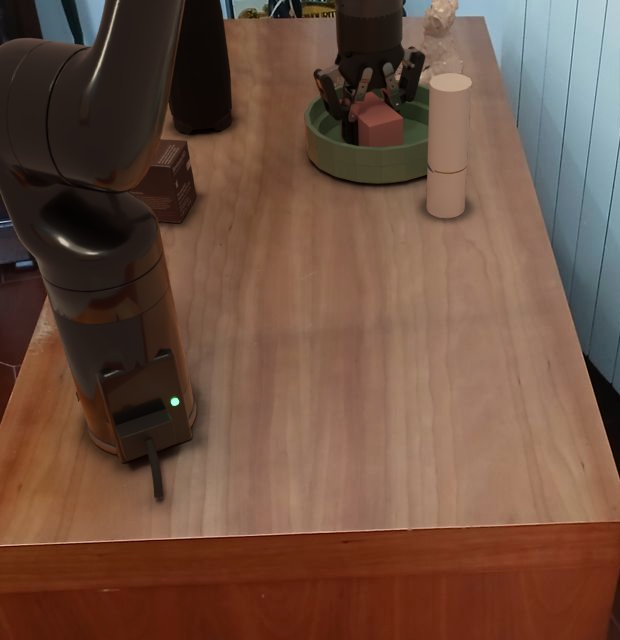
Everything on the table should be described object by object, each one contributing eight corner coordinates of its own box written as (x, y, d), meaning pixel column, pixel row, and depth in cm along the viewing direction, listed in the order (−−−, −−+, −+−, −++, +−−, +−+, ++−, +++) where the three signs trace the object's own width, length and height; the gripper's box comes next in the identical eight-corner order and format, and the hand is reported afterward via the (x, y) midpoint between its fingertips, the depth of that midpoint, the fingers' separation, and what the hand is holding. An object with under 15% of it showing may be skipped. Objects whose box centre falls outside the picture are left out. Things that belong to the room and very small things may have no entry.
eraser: (402, 155, 112) (403, 117, 109) (370, 164, 111) (369, 126, 107) (372, 128, 117) (371, 91, 114) (340, 136, 116) (339, 99, 113)
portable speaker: (227, 102, 126) (209, -46, 113) (242, 132, 119) (225, -22, 107) (165, 112, 124) (139, -37, 112) (177, 144, 118) (151, -11, 105)
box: (180, 224, 103) (170, 167, 99) (130, 220, 104) (117, 163, 100) (197, 196, 108) (188, 139, 103) (149, 192, 109) (138, 136, 104)
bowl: (482, 163, 111) (484, 125, 108) (346, 202, 106) (345, 163, 102) (409, 103, 124) (409, 68, 120) (284, 136, 118) (281, 99, 115)
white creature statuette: (416, 64, 133) (418, -20, 125) (473, 73, 130) (478, -13, 122) (391, 92, 127) (390, 4, 119) (450, 102, 124) (454, 13, 116)
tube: (472, 206, 104) (480, 80, 94) (448, 222, 102) (454, 95, 92) (442, 193, 106) (447, 69, 96) (418, 209, 104) (421, 83, 94)
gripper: (324, 26, 98) (332, 168, 109) (441, -1, 102) (437, 139, 113) (296, 3, 103) (306, 141, 114) (408, -21, 107) (407, 114, 118)
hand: (371, 139), depth 113 cm, fingers closed on eraser, 4 cm apart
